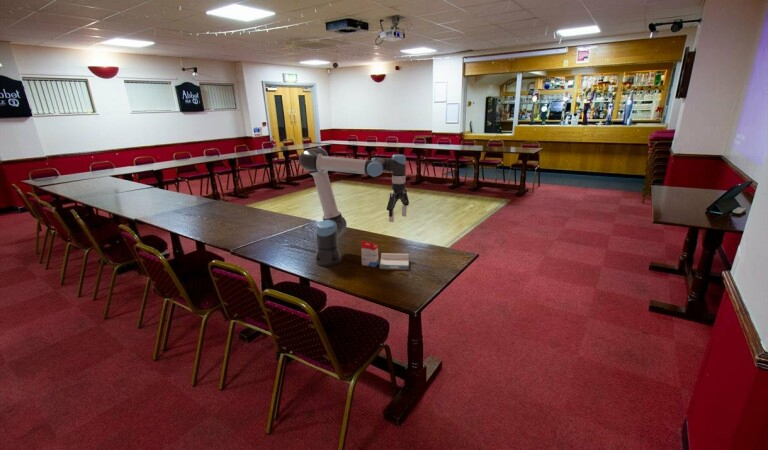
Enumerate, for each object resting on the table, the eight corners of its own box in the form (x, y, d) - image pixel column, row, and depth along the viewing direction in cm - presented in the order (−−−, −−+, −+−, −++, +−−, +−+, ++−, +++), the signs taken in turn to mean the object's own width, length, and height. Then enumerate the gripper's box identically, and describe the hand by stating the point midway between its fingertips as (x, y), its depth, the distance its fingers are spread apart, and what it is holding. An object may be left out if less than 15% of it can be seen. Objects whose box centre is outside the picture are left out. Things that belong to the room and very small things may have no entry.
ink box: (378, 264, 207) (378, 240, 203) (374, 267, 203) (374, 242, 199) (365, 261, 211) (364, 238, 206) (361, 264, 207) (360, 240, 202)
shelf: (379, 269, 201) (379, 261, 199) (381, 260, 212) (381, 253, 211) (408, 269, 200) (408, 262, 198) (408, 260, 211) (408, 253, 210)
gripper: (391, 187, 191) (391, 225, 198) (415, 180, 211) (414, 215, 217) (380, 185, 195) (380, 223, 202) (404, 178, 215) (403, 213, 221)
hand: (397, 219), depth 210 cm, fingers open, 13 cm apart
